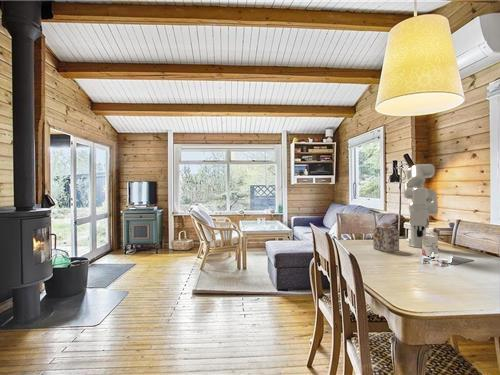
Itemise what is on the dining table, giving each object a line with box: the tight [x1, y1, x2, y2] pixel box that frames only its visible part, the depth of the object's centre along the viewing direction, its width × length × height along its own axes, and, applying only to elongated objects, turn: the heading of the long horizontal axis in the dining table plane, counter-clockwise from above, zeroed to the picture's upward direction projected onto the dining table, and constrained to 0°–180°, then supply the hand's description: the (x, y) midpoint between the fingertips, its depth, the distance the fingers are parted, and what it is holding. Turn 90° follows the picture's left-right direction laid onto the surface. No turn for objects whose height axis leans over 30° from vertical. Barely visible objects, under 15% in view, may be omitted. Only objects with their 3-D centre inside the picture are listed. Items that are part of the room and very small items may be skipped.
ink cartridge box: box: [421, 230, 439, 257], centre depth 177 cm, size 9×5×15 cm, turn 179°
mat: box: [449, 255, 475, 266], centre depth 167 cm, size 14×20×1 cm
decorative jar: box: [372, 222, 400, 253], centre depth 196 cm, size 12×12×18 cm
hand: (419, 236), depth 183 cm, fingers closed
